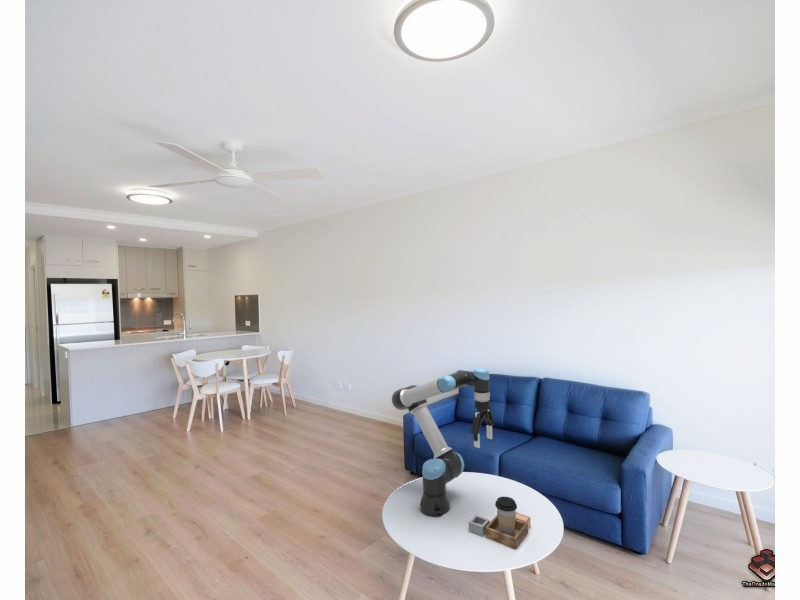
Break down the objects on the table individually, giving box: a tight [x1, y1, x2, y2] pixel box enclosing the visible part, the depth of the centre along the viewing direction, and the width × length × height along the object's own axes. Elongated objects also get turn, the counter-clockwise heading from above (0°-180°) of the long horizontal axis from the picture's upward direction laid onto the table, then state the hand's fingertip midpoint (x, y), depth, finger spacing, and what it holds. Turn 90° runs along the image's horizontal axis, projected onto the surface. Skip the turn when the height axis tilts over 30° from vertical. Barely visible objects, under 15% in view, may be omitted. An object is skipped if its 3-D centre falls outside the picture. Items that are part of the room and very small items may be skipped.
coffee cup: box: [494, 496, 518, 537], centre depth 171 cm, size 9×9×15 cm
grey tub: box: [468, 514, 491, 537], centre depth 176 cm, size 7×7×5 cm
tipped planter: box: [515, 512, 531, 530], centre depth 178 cm, size 7×5×5 cm
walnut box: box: [484, 515, 529, 550], centre depth 172 cm, size 14×14×5 cm
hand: (483, 442), depth 191 cm, fingers open, 13 cm apart
